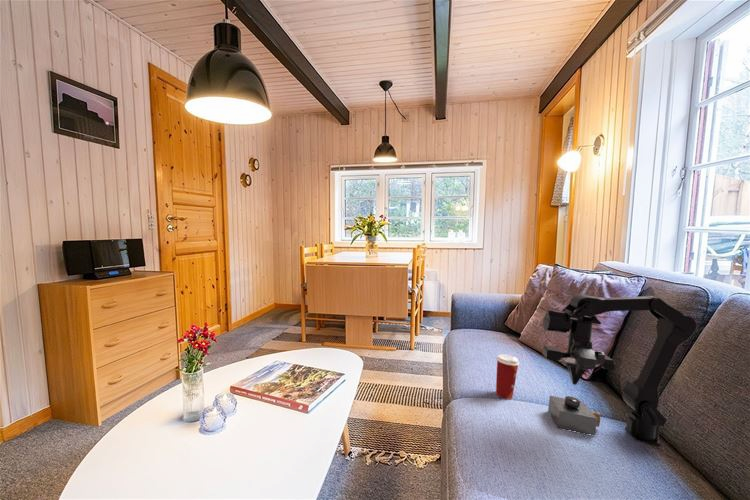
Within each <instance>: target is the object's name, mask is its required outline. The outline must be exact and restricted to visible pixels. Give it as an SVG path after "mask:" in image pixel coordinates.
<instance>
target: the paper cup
mask: <svg viewBox="0 0 750 500" xmlns="http://www.w3.org/2000/svg"><path fill="white" fill-rule="evenodd" d="M496 361H497V362H496V380H495V381H496V383H495V394H496V396H498V397H499V398H502V399H505V400H512V399H513V396H514V391H515V387H516V386H515V385H516V380H517V374H518V367H519V365H520V361H519V359H518V358H517V357H515V356H513V355H510V354H507V353H506V354H504V353H503V354H498V356H497V358H496Z"/></svg>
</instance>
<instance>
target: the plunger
mask: <svg viewBox="0 0 750 500" xmlns="http://www.w3.org/2000/svg"><path fill="white" fill-rule="evenodd" d="M564 398H565V405H566V406H568V407H570V408H573V409H579V408H580V401H581V400H580V399H578V398H577V397H573V396H570V395H566V396H565V397H564Z"/></svg>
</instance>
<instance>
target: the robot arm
mask: <svg viewBox="0 0 750 500" xmlns="http://www.w3.org/2000/svg"><path fill="white" fill-rule="evenodd" d="M634 311H636V312H637V311H648V313H650V315H651V316H652V317H653V318H655V319H656V320H657V321H656V322H657V323H656V325H655V327H656V328H655V329H656V334H657V335H656V336H657V337H656V340H655V342H654V344H653V346H652V349H651V350H650V352H649V355H648V356H647V358H646V361H645V363H644V365H643V367H642V369H641V371H640V373H639V375H638V377H637V379H635V380H633V381H630V380H626V381H625V385H624V386H623V388H622V389H621V390H620V391H621V392H622V395H621V397H622V399H623V402H624V403H626V406H627V408H628V409H629V410H630V412H629V416H628V417H627V420H626V426H624V429H625V430H626V431H627V432H628V433H629V434H630V435H631V437H633V439H634V440H636V441H638V440H640V441H639V442H643V441H645V442H644V443H648V442H649V443H648V444H652V445H658V446H662V443H661V441H659V437H660V436H659V433H660V427H664V425H665V424H666V422H667V418H665V417H664V415H663V414H662V413H661V412H660V411H659V409H658V408H659V404H660V396H659V387H660V385H661V383H662V382H663V379H664V377H665V375H666V373H667V370H668V369H669V366H670V365H671V362H672V360H673V358H674V356H675V354H676V352H677V350H678V349H679V346H681V345H682V344H684V343H685V342H687V341H689V340H690V339H691V338H692V336H693V335H694V333H696V330H697V328H698V324H697V323H696V321H695V319H694V318H693V317H691V316H689V315H687V314H683V313H682V312H680V310H678V309H676V308H674V307H672V305H669V304H668V303H667V302H665V301H664V300H663V299H661V298H659V297H657V296H652V295H644V296H622V297H621V296H620V297H619V296H618V297H617V296H616V297H615V296H614V297H601V296H600V297H599V296H594V295H587V294H575V295H573V296H572V298H571V299H570V300H569V303H568V304H567V305H566V306H565V307H564V308H563V309H562V310H561V311H559V310H553V309H551V308H550V309H549V308H548V309H547V310H546V312H545V314H544V316H543V318H542V327H543V330H544V331H545V332H554V333H560V334H566V333H568V335H567V339H568V341H567V347H565V351H561V350H560V349H559V348H557V346H555V347H554V346H550V345H544V346H543V347H542V351H541V354H542V355H543V356H544V357H545V359H547V360H549V361H557V362H559V361H560V360H561V361H562V362H563V363H564V364H565V365H566V368H567V371H568V373H569V377H570V380H571V384H572V385H574V386H576V385H577V384H578V383H579V381H580V379H581V378H582V376H583V374H585V372H587V371H589V370H593V369H596V366H597V365H600V366H601V368H602V369H604V370H607V371H616V367H617V365H616V362H615V360H614V359H612V358H611V357H609V356H608V355H606V354H605V352H604V351H599V350H593V342H591V341H592V340H591V339H592V332H593V324H594V325H595V324H596V325H601V324H602V322H601V321H600V320H599V319H598V318H597V316H598V315H602V314H604V313H608V312H634Z"/></svg>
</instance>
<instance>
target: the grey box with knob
mask: <svg viewBox="0 0 750 500" xmlns="http://www.w3.org/2000/svg"><path fill="white" fill-rule="evenodd" d="M548 398H549V399H548V409H547V412H548V414H549V413H550V414H549V416H550V415H551V416H550V417H552V418H551V420H552V419H553V420H552V422H553V423H554V425H555V424H556V425H555V427H556V426H557V427H556V428H557V429H558V430H562V429H565V430H564V431H567V430H571V431H570V432H572V431H576V432H580V433H579V434H581V433H585V434H584V435H586V434H591V435H595V436H596V429H597V428H600V423H601V415H602V414H601V413H600V412H599V411H594V410H591V409H590V408H589V407H588V406H587V405H586V403H585V402H584V401H581V400H580V408H579V409H573V408H570V407H568V406H566V405H565V397H559V396H554V395H549V397H548ZM576 432H575V433H576Z"/></svg>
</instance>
